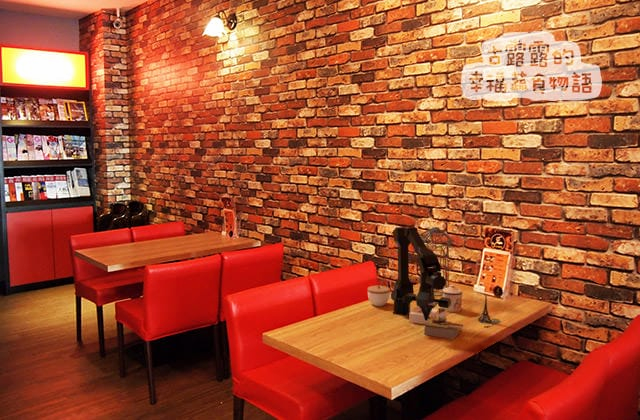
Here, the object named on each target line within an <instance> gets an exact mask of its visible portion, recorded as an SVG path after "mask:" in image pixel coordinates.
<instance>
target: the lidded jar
mask: <svg viewBox="0 0 640 420" xmlns="http://www.w3.org/2000/svg"><path fill="white" fill-rule="evenodd" d="M367 297H368V300H369V302H370V303H371V304H372V306H376V307H383V305H384V306H385V305H386V304H387V303H388V301H389V299H390V297H391V289H390V287H388V286H385V285H380V284H379V285H371V286H368V287H367Z"/></svg>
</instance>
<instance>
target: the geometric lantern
mask: <svg viewBox="0 0 640 420" xmlns="http://www.w3.org/2000/svg"><path fill="white" fill-rule="evenodd" d="M434 233H435V234H434ZM440 233H441V234H440ZM419 235H420V237H421V238H422V240H423V242H424V243H425V244H426V243H427V245H426V247H427V248H428V246H429V244H430V245H432V246H433V247H434V248H433V249H431V250H432V251H433V252H436V251H437V252H438V251H439V252H440V254H436V256H437V257H438V256H439V263H440V265H441V266H442V265H443V267H442V276H443V277H444V278H445V280H446V285H445V287H444V288H443V289H445V288H448V287H450V279H449V277H450V276H449V275H450V273H449V272H450V270H449V269H450V268H449V267H450V266H449V261H450V260H449V258H450V257H449V253H450V246H451V245H452V244H453V243H454V242H455V239H454V238H453V237H451V236H450V235H448V234H447V233H446V232H445V231H444V230H442V229H441V228H440V227H437V226H433V227H431V228H430V229H427V230H425V231H423V232H421V233H419ZM444 236H445V237H446V240H445V241H443V240H442V238H443V237H444ZM432 237H434V240H431V239H432ZM437 237H439V238H437ZM439 240H440V241H439ZM433 243H434V244H433ZM443 243H444V244H443ZM436 244H437V245H438V246H437V245H436ZM440 244H441V245H440ZM447 246H448V250H447V252H446V251H445V250H446V248H447ZM443 247H444V248H443ZM437 248H440V249H437ZM428 268H431V267H428ZM439 272H441V271H439ZM418 283H419V284H420V280H419V282H418ZM443 289H441V290H437V289H435V288H434V290H435V291H434V297H439V296H440V297H443V292H442V291H443ZM435 293H439V294H435Z"/></svg>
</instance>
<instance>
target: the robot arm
mask: <svg viewBox="0 0 640 420" xmlns="http://www.w3.org/2000/svg"><path fill="white" fill-rule="evenodd" d="M419 234H420V233H419V230H418V227H417V226H399V227H398V226H396V227H395V228H394V229H393V230H392V236H393V237H392V238H393V241H394V243H395V244H396V246H397V278H396V280H395V282H394V288H393V290H392V291H391V292H390V298H391V300H392V301H393V311H392V314H394V315H401V316H407V315H408V314H409V313H410V312H411V303H412V302H416V307H420V308H421V310H422V312H423V315H424V318H425V321H427V320H428V318H429V315H430V313H431V310H432V309H435V308H436V306H437V305H438V308H448V307H449V306H450V305H451V299H450V298H445V297H443V296H440V298H435V296H434V295H435V293H434V292H435V290H436V289H437V291H438V290H439V291H441V289H443V288H444V289H445V288H446V287H445V285H446V282H447V279H446V280H445V276H444V277H443V275H442V264H441V265H440V260H439V258H438V256H436V255H437V254H436V253H435V251H432V250H433V249H430V248H428V246H427V245H426V242H425V243H424V240H422V238H421V237H420V235H419ZM410 244H411V246H412V247H413V249H414V252H415V253H416V255H417V256H416V262H417V265H418V267H419V268H418V271H419V281H420V283H419V287H418V293H417V294H416V293H415V290H414V283H413V282H411V280H410V275H409V273H410V271H409V270H410V267H409V259H410V258H409V246H410ZM426 246H427V247H426ZM429 267H430V268H429ZM439 271H440V272H439ZM434 288H435V289H434Z"/></svg>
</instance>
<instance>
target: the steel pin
mask: <svg viewBox="0 0 640 420" xmlns="http://www.w3.org/2000/svg"><path fill="white" fill-rule="evenodd" d="M447 312H448V311H447V309H446V308H442V307H438V319H437V320H438V322H439V323H440V324H442V325H444V323H446V321H447V315H448V314H447Z"/></svg>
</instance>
